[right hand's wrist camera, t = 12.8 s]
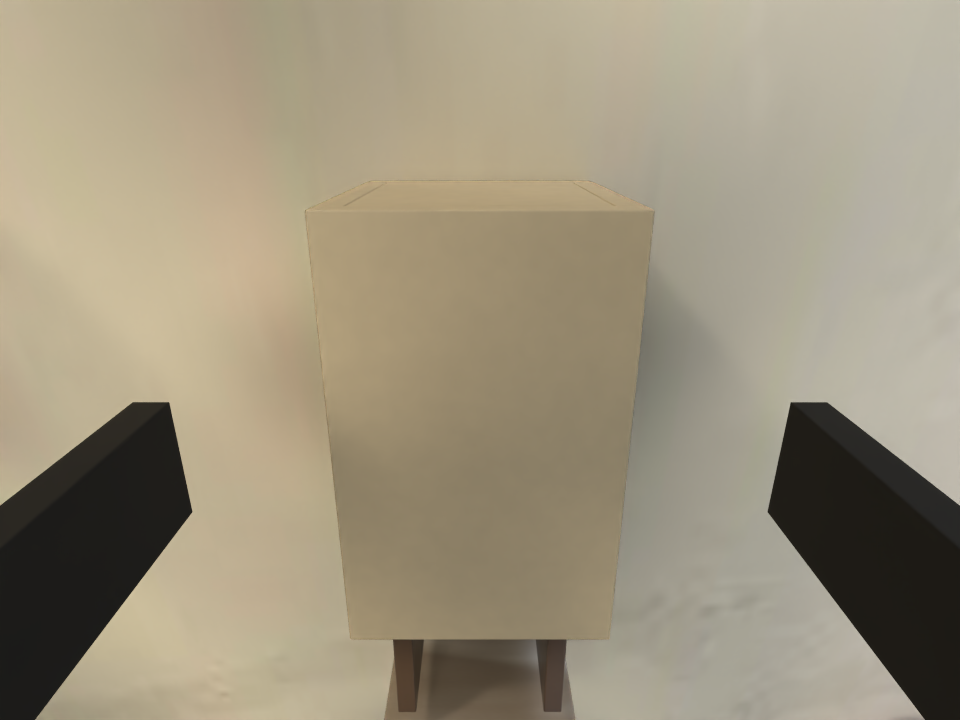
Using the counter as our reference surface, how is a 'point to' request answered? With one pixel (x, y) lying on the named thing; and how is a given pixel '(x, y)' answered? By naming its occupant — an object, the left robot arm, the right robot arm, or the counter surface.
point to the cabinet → (479, 400)
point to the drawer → (479, 680)
